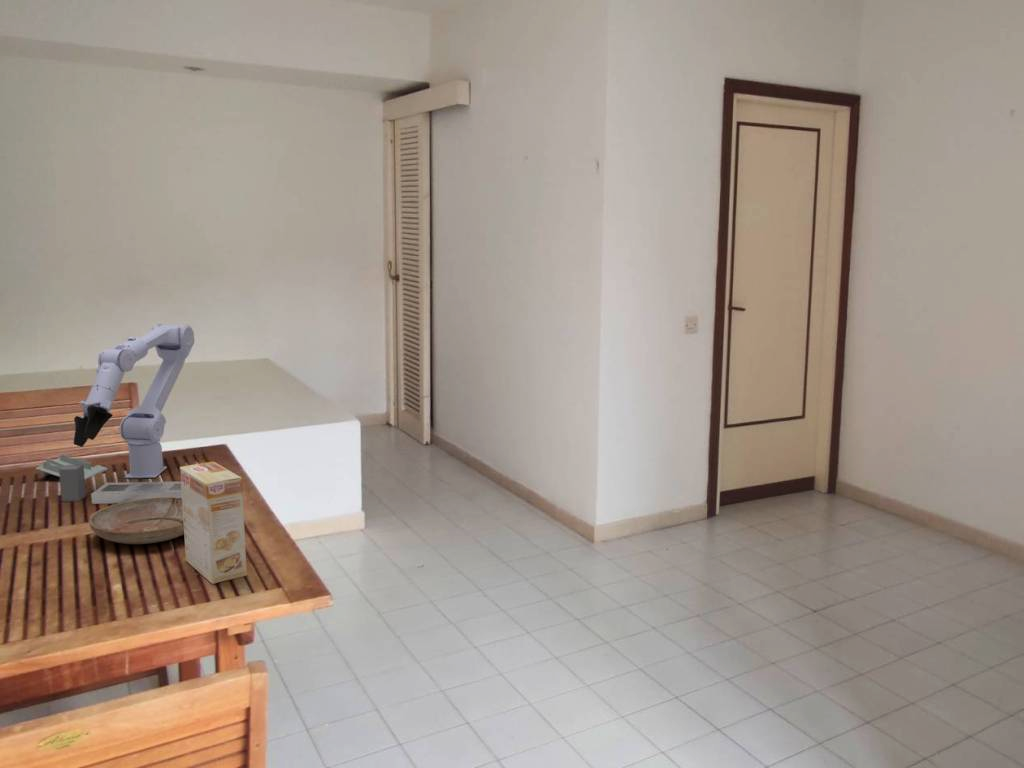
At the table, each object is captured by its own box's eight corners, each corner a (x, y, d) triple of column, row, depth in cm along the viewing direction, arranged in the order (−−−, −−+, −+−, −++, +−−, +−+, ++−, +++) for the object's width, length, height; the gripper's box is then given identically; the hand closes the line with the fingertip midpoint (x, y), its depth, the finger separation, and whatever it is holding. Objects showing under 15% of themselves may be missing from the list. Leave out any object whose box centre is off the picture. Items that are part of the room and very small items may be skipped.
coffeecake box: (248, 575, 160) (243, 477, 157) (211, 585, 156) (204, 484, 152) (220, 552, 172) (214, 460, 168) (184, 560, 167) (178, 466, 164)
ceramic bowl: (147, 562, 167) (145, 538, 166) (65, 543, 177) (63, 521, 176) (231, 525, 188) (230, 504, 187) (154, 511, 197) (152, 490, 196)
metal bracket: (28, 462, 217) (64, 448, 231) (24, 483, 218) (60, 467, 232) (80, 479, 216) (113, 464, 231) (75, 500, 217) (109, 483, 232)
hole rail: (107, 492, 210) (106, 482, 210) (205, 490, 212) (204, 481, 212) (92, 503, 202) (91, 493, 201) (194, 501, 203) (194, 491, 203)
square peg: (69, 496, 207) (66, 464, 206) (86, 495, 208) (83, 464, 206) (62, 501, 203) (59, 469, 202) (79, 501, 204) (76, 469, 202)
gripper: (77, 393, 211) (56, 442, 204) (97, 377, 201) (76, 428, 194) (105, 404, 215) (85, 452, 208) (126, 389, 205) (106, 439, 198)
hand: (83, 441), depth 202 cm, fingers open, 7 cm apart
